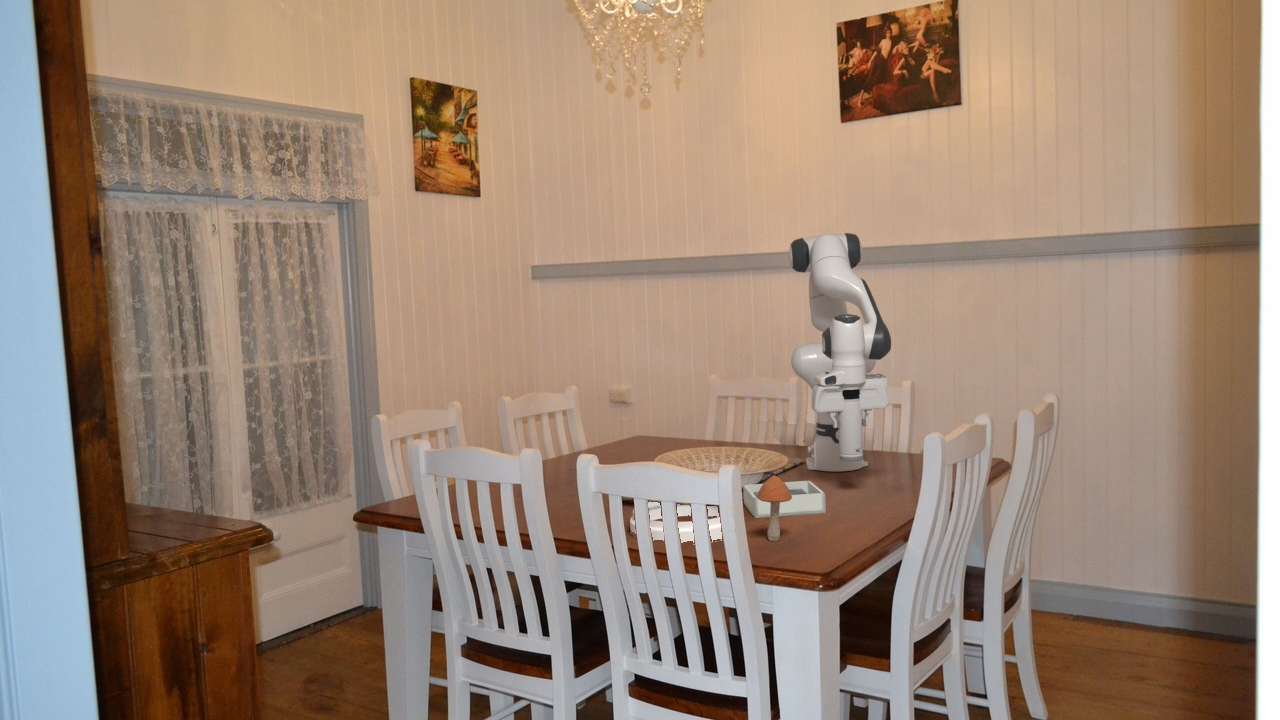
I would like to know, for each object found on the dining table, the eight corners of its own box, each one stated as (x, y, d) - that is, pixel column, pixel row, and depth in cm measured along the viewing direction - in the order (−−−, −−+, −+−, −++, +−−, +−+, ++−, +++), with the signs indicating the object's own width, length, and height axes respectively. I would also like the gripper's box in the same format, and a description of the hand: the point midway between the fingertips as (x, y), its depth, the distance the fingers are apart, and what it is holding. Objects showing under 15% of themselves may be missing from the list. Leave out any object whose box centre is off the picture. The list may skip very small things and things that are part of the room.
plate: (615, 526, 237) (614, 504, 237) (713, 511, 246) (712, 491, 246) (654, 552, 212) (652, 528, 212) (761, 535, 221) (760, 512, 221)
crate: (743, 503, 252) (743, 485, 252) (810, 498, 253) (809, 480, 253) (755, 518, 236) (754, 498, 236) (825, 513, 237) (825, 493, 237)
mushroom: (801, 539, 214) (798, 474, 213) (775, 547, 210) (772, 480, 209) (777, 533, 221) (774, 470, 220) (751, 540, 216) (748, 475, 215)
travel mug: (864, 461, 251) (862, 386, 249) (839, 461, 253) (836, 387, 251) (864, 456, 257) (862, 383, 255) (839, 456, 259) (837, 384, 257)
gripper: (883, 371, 256) (884, 422, 258) (808, 376, 255) (810, 427, 256) (891, 374, 250) (892, 426, 251) (814, 379, 249) (816, 431, 250)
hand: (850, 426), depth 254 cm, fingers closed on travel mug, 6 cm apart
